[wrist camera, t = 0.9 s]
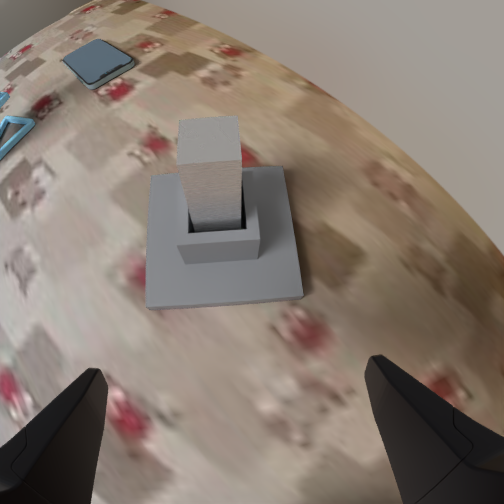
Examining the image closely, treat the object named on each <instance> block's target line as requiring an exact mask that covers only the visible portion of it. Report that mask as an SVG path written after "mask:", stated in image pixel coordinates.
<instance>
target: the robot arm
mask: <svg viewBox="0 0 504 504" xmlns="http://www.w3.org/2000/svg"><path fill="white" fill-rule="evenodd" d="M365 382H366V386H367V390H368V394H369V398H370V402H371V407H372V411H373V415H374V418H375V421H376V424H377V426H378V429H379V432H380V435H381V438H382V441H383V443H384V446H385V449H386V452H387V455H388V458H389V461H390V464H391V467H392V470H393V473H394V476H395V479H396V482H397V485H398V488H399V492H400V495H401V498H402V501H403V504H504V437H502V436H501V435H499V434H497V433H495V432H493V431H492V430H490V429H488V428H486V427H485V426H483V425H481V424H479V423H478V422H476V421H474V420H473V419H471V418H470V417H468V416H467V415H465V414H464V413H462V412H461V411H459V410H458V409H457V408H455V407H453V406H452V405H451V404H450V403H448V402H447V401H445V400H444V399H443V398H441V397H440V396H438V395H437V394H436V393H434V392H433V391H432V390H430V389H429V388H427V387H426V386H425V385H423V384H422V383H420V382H419V381H418V380H416V379H415V378H414V377H412V376H411V375H409V374H408V373H407V372H405V371H404V370H403V369H401V368H400V367H398V366H397V365H396V364H394V363H393V362H391V361H390V360H389V359H387V358H386V357H385V356H383V355H374V356H371V357H370V358H369V360H368V363H367V367H366V370H365ZM107 396H108V385H107V382H106V380H105V378H104V376H103V374H102V371H101V370H100V369H98V368H88V369H87V370H86V371H84V372H83V373H82V374H81V375H80V376H79V377H78V378H77V379H76V380H75V381H73V382H72V383H71V384H70V385H69V386H68V387H67V388H66V389H65V390H64V391H62V392H61V393H60V394H59V395H58V396H57V397H56V398H55V399H54V400H53V401H52V402H51V403H49V404H48V405H47V406H46V407H45V408H44V409H43V410H42V411H41V412H40V413H39V414H38V415H36V416H35V417H34V418H33V419H32V420H31V421H30V422H29V423H28V424H27V425H26V427H24V428H22V429H21V430H20V431H19V432H18V433H17V434H16V435H15V436H14V437H13V438H11V439H10V440H9V441H8V442H7V443H5V444H4V445H3V446H2V447H1V448H0V504H91V498H92V491H93V485H94V479H95V473H96V467H97V461H98V456H99V451H100V446H101V441H102V436H103V431H104V424H105V414H106V405H107Z"/></svg>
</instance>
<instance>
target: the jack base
mask: <svg viewBox="0 0 504 504" xmlns="http://www.w3.org/2000/svg"><path fill="white" fill-rule="evenodd" d="M302 297H303V288H302V282H301V275H300V268H299V261H298V255H297V248H296V242H295V236H294V230H293V223H292V217H291V211H290V206H289V200H288V194H287V188H286V183H285V177H284V172H283V166H269V167H248V168H242V181H241V230H228V231H215V232H201V233H195V230H194V227H193V223H192V220H191V216H190V213H189V209H188V206H187V202H186V198H185V195H184V191H183V187H182V184H181V180H180V176H179V173H171V174H162V175H153V176H151V183H150V195H149V210H148V226H147V249H146V308H148V309H149V310H164V309H183V308H200V307H215V306H229V305H242V304H254V303H266V302H277V301H287V300H298V299H301V298H302Z"/></svg>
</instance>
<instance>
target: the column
mask: <svg viewBox="0 0 504 504" xmlns="http://www.w3.org/2000/svg"><path fill="white" fill-rule="evenodd" d="M177 169H178V172H179V176H180V180H181V184H182V187H183V191H184V195H185V198H186V202H187V206H188V209H189V213H190V216H191V220H192V223H193V227H194V230H195V233H201V232H215V231H228V230H241V181H242V156H241V146H240V136H239V126H238V116H222V117H208V118H196V119H186V120H179V131H178V147H177Z"/></svg>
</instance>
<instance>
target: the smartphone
mask: <svg viewBox="0 0 504 504" xmlns="http://www.w3.org/2000/svg"><path fill="white" fill-rule="evenodd" d="M63 63H64V64H65V65H66V66H67V67H68V69H69V70H70V71H71V72H72V73H73V74H74V75H75V76H76V77H77V78H78V79H79V80H80V81H81V82H82V83H83V84H84V85H85V86H86V87H87V88H88V89H96V88H98V87H100V86H101V85H103V84H105V83H106V82H108V81H110V80H111V79H113V78H115V77H116V76H118V75H120V74H122V73H124V72H125V71H127V70H129V69H131V68H132V67H133V66H134V64H135V63H134V60H133V58H131V57H130V56H128V55H126V54H125V53H123V52H121V51H120V50H118V49H116V48H115V47H113V46H111V45H110V44H108V43H106V42H104V41H103V40H101V39H96V40H93V41H91V42H89V43H88V44H86V45H84V46H82V47H80V48H79V49H77V50H75V51H74V52H72V53H70V54H68V55H67V56H65V57H64V59H63Z"/></svg>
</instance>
